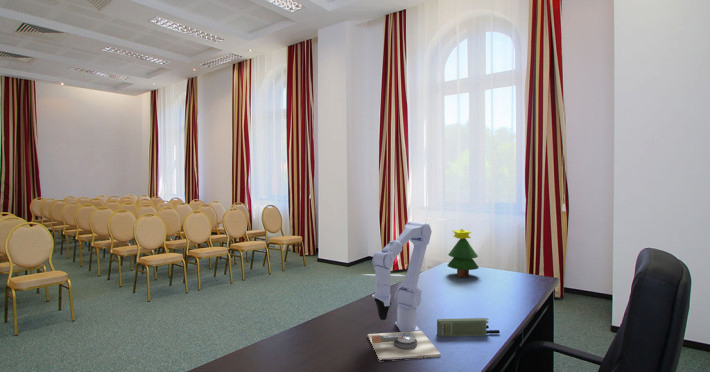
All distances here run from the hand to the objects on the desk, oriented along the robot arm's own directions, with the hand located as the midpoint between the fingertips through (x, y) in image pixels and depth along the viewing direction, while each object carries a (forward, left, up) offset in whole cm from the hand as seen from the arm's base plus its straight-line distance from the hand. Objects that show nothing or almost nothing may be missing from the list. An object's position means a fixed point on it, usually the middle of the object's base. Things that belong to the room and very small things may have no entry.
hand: (382, 318), depth 145 cm
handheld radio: (0, +35, -9) cm, 36 cm away
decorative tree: (-84, +72, -9) cm, 111 cm away
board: (+6, +6, -8) cm, 12 cm away
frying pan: (+7, +2, -6) cm, 9 cm away
